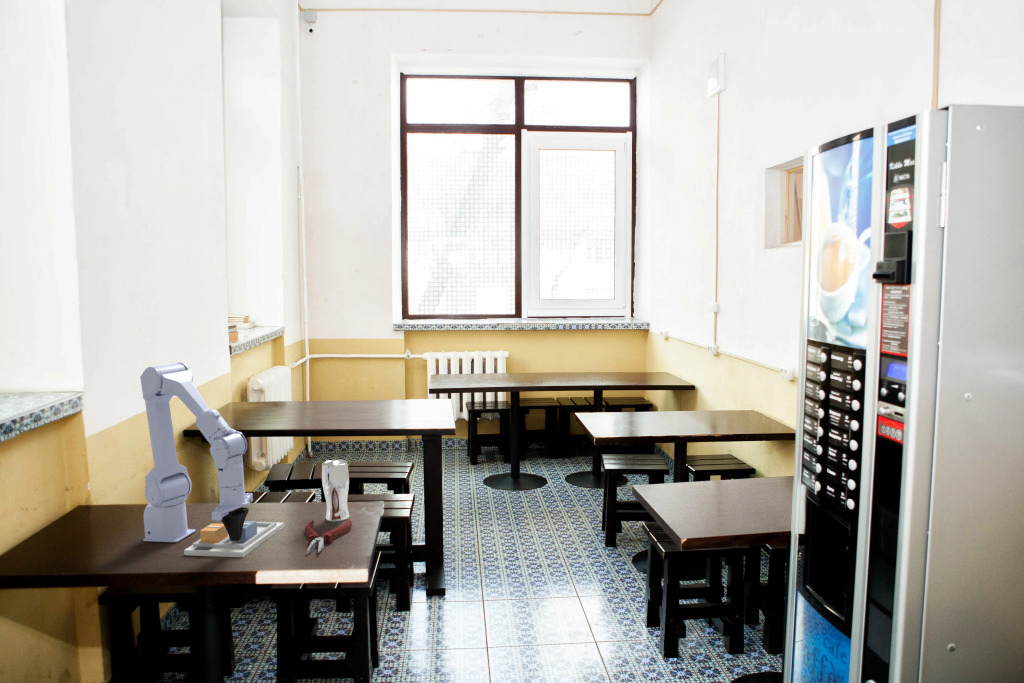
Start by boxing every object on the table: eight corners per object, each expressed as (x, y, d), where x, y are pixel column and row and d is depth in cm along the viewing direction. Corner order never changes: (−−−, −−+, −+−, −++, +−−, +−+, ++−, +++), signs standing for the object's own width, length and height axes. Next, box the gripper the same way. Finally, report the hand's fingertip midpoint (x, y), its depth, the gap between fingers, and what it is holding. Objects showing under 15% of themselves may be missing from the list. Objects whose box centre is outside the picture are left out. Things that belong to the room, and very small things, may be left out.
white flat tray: (184, 555, 173) (183, 546, 173) (231, 525, 193) (230, 518, 193) (242, 557, 171) (242, 549, 171) (284, 527, 190) (283, 519, 190)
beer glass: (347, 521, 193) (344, 465, 191) (321, 522, 193) (317, 466, 191) (353, 513, 200) (350, 459, 198) (328, 513, 200) (325, 459, 198)
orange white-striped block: (201, 544, 176) (199, 529, 176) (213, 537, 181) (211, 522, 181) (216, 545, 176) (215, 530, 175) (227, 537, 180) (226, 523, 180)
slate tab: (231, 542, 177) (230, 527, 177) (242, 534, 182) (241, 520, 182) (246, 542, 177) (245, 527, 176) (257, 534, 182) (256, 520, 181)
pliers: (287, 559, 170) (287, 548, 170) (308, 528, 190) (308, 518, 190) (337, 557, 170) (337, 546, 170) (353, 527, 190) (352, 517, 190)
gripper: (229, 494, 166) (234, 552, 168) (262, 475, 181) (266, 529, 182) (201, 493, 168) (206, 550, 169) (236, 475, 182) (240, 528, 183)
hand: (235, 539), depth 176 cm, fingers closed
